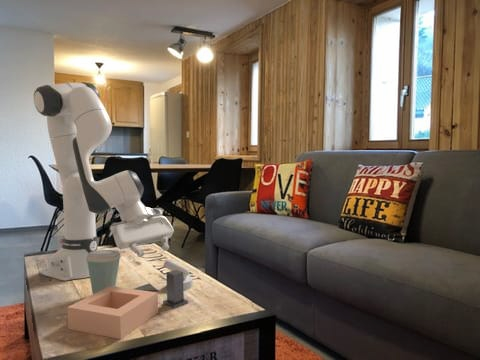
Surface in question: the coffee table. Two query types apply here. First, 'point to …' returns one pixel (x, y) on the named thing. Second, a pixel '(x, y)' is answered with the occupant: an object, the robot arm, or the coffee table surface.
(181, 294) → the grey pillar on base
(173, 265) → the wall hook
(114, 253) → the disposable coffee cup
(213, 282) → the coffee table surface
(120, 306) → the box
